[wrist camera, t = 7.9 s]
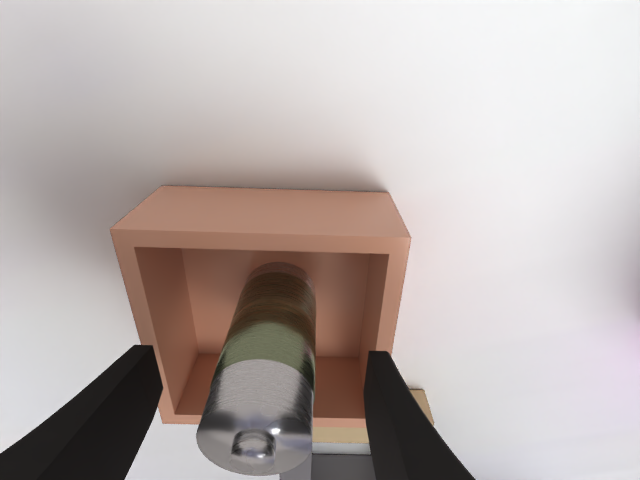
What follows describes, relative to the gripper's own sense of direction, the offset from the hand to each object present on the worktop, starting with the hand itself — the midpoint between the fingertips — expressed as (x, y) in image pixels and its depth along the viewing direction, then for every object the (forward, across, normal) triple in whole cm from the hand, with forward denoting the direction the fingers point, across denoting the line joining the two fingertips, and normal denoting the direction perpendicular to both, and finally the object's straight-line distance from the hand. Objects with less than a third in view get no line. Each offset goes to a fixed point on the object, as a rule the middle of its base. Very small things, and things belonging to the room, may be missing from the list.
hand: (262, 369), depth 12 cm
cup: (+5, 0, 0) cm, 5 cm away
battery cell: (+4, 0, 0) cm, 5 cm away
